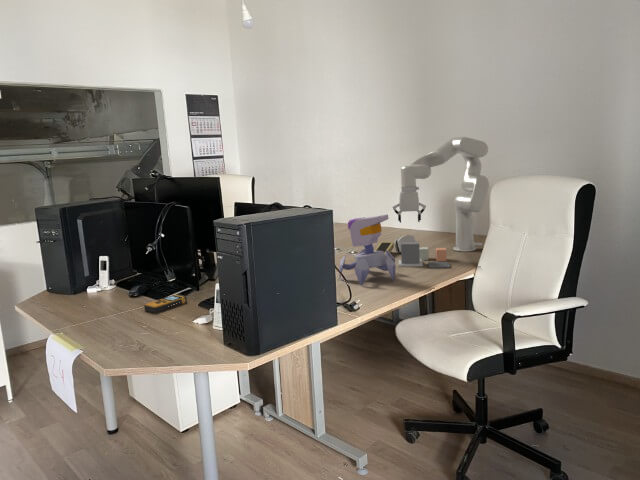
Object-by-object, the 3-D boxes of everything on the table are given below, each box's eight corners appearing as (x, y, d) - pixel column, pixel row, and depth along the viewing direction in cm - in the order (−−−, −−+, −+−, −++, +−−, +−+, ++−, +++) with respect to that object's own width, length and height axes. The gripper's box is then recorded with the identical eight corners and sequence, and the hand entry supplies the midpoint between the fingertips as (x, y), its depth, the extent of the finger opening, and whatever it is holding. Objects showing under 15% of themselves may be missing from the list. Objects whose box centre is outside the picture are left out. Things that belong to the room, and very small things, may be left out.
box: (394, 249, 281) (394, 241, 279) (385, 265, 261) (384, 256, 260) (380, 249, 284) (379, 241, 282) (370, 265, 264) (369, 256, 263)
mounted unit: (421, 261, 255) (421, 240, 253) (422, 266, 246) (422, 244, 243) (398, 262, 257) (398, 241, 255) (398, 266, 247) (398, 245, 245)
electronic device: (143, 311, 199) (142, 303, 199) (175, 300, 212) (174, 293, 211) (156, 314, 194) (155, 306, 194) (187, 303, 207) (187, 295, 206)
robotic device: (363, 269, 247) (361, 209, 242) (408, 275, 231) (407, 212, 226) (331, 281, 227) (328, 217, 222) (378, 289, 211) (376, 220, 206)
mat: (448, 263, 249) (448, 261, 249) (450, 268, 240) (450, 266, 239) (428, 263, 251) (428, 261, 251) (429, 268, 241) (429, 266, 241)
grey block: (427, 258, 263) (427, 247, 262) (428, 260, 258) (428, 249, 257) (418, 258, 264) (418, 247, 263) (418, 260, 259) (418, 249, 258)
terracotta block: (445, 259, 259) (445, 248, 257) (446, 261, 254) (446, 250, 253) (435, 259, 259) (435, 248, 258) (436, 261, 255) (436, 250, 253)
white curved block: (403, 254, 275) (398, 237, 275) (397, 256, 278) (391, 239, 279) (420, 248, 286) (415, 232, 287) (414, 250, 290) (408, 234, 290)
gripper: (425, 188, 258) (425, 220, 262) (392, 189, 261) (393, 221, 264) (426, 189, 251) (426, 222, 254) (392, 191, 254) (393, 223, 257)
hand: (409, 222), depth 259 cm, fingers open, 9 cm apart
